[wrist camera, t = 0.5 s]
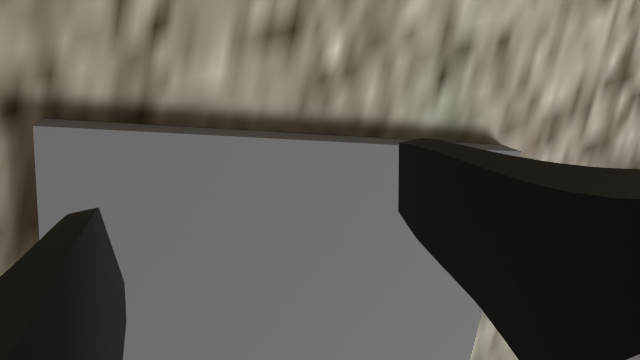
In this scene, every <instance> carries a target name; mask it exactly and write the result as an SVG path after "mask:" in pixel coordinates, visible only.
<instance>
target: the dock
mask: <svg viewBox="0 0 640 360" xmlns="http://www.w3.org/2000/svg"><path fill="white" fill-rule="evenodd" d="M33 140H34V157H35V173H36V190H37V207H38V224H39V240H40V239H41V238H42V237H43V236H44V235H45V234H46V233H47V232H48V231H49V230H50V229H51V228H52V227H53V226H54V225H56V224H57V223H58V222H59V221H60V220H61V219H62V218H63V217H65V216H66V215H67V214H70V213H75V212H79V211H84V210H89V209H93V208H98V207H99V210H100V213H101V215H102V218H103V221H104V224H105V227H106V230H107V233H108V236H109V239H110V242H111V245H112V248H113V250H114V253H115V256H116V259H117V262H118V265H119V268H120V271H121V274H122V277H123V280H124V284H125V300H126V332H125V342H124V353H123V360H470V357H471V353H472V349H473V345H474V341H475V337H476V333H477V329H478V324H479V320H480V316H481V312H482V309H481V308H480V307H479V306H478V305H477V303H476V302H475V301H474V300H473V299H472V298H471V297H470V295H469V294H468V293H467V292H466V291H465V290H464V289H463V288H462V287H461V286H460V285H459V284H458V283H457V282H456V281H455V280H454V279H453V277H452V276H451V275H450V274H449V273H448V272H447V271H446V270H445V269H444V268H443V267H442V266H441V265H440V264H439V263H438V262H437V261H436V259H435V258H434V257H433V256H432V255H431V254H430V253H429V252H428V251H427V250H426V249H425V247H424V246H423V245H422V244H421V243H420V242H419V241H418V240H417V238H416V237H415V236H414V234H413V233H412V231H411V230H410V228H409V227H408V226H407V224H406V222H405V221H404V219H403V218H402V216H401V215H400V213H399V212H398V189H399V143H400V142H405V141H410V140H408V139H391V138H374V137H356V136H339V135H321V134H304V133H287V132H269V131H252V130H235V129H217V128H200V127H183V126H165V125H148V124H131V123H113V122H96V121H79V120H61V119H44V118H43V119H42V120H40V121H39V122H37V123H36V124H35V125H33ZM451 143H456V144H460V145H465V146H470V147H474V148H479V149H483V150H488V151H492V152H497V153H502V154H507V155H512V156H517V157H520V154H521V151H518V150H515V149H512V148H509V147H507V146H504V145H495V144H478V143H460V142H451Z"/></svg>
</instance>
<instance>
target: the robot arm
mask: <svg viewBox="0 0 640 360" xmlns="http://www.w3.org/2000/svg"><path fill="white" fill-rule="evenodd" d="M398 212H399V213H400V215H401V216H402V218H403V219H404V221H405V222H406V224H407V226H408V227H409V228H410V230H411V231H412V233H413V234H414V236H415V237H416V238H417V240H418V241H419V242H420V243H421V244H422V245H423V246H424V247H425V249H426V250H427V251H428V252H429V253H430V254H431V255H432V256H433V257H434V258H435V259H436V261H437V262H438V263H439V264H440V265H441V266H442V267H443V268H444V269H445V270H446V271H447V272H448V273H449V274H450V275H451V276H452V277H453V279H454V280H455V281H456V282H457V283H458V284H459V285H460V286H461V287H462V288H463V289H464V290H465V291H466V292H467V293H468V294H469V295H470V297H471V298H472V299H473V300H474V301H475V302H476V303H477V305H478V306H479V307H480V308H481V309H482V310H483V312H484V313H485V314H486V316H487V317H488V318H489V320H490V321H491V322H492V324H493V325H494V326H495V328H496V329H497V330H498V332H499V333H500V334H501V336H502V337H503V338H504V340H505V341H506V342H507V344H508V345H509V347H510V348H511V349H512V351H513V352H514V354H515V355H516V357H517V358H518V359H519V360H640V170H638V169H616V168H599V167H587V166H578V165H569V164H560V163H553V162H546V161H539V160H534V159H528V158H522V157H517V156H512V155H507V154H502V153H497V152H492V151H488V150H483V149H479V148H474V147H470V146H465V145H460V144H456V143H451V142H446V141H440V140H434V139H425V138H419V139H414V140H410V141H405V142H400V143H399V189H398ZM125 332H126V300H125V284H124V280H123V277H122V274H121V271H120V268H119V265H118V262H117V259H116V256H115V253H114V250H113V248H112V245H111V242H110V239H109V236H108V233H107V230H106V227H105V224H104V221H103V218H102V215H101V213H100V210H99V207H98V208H93V209H89V210H84V211H79V212H75V213H70V214H67V215H66V216H65V217H63V218H62V219H61V220H60V221H59V222H58V223H57V224H56V225H54V226H53V227H52V228H51V229H50V230H49V231H48V232H47V233H46V234H45V235H44V236H43V237H42V238H41V239H40V240H39V241H38V242H37V243H36V244H35V245H34V246H33V247H32V248H31V249H30V250H29V251H28V252H27V253H26V254H25V255H24V256H23V257H21V258H20V259H19V260H18V261H17V262H16V263H15V264H14V265H13V266H12V267H11V268H10V269H9V270H7V271H6V272H5V273H4V274H3V275H2V276H1V277H0V360H123V353H124V342H125Z"/></svg>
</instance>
